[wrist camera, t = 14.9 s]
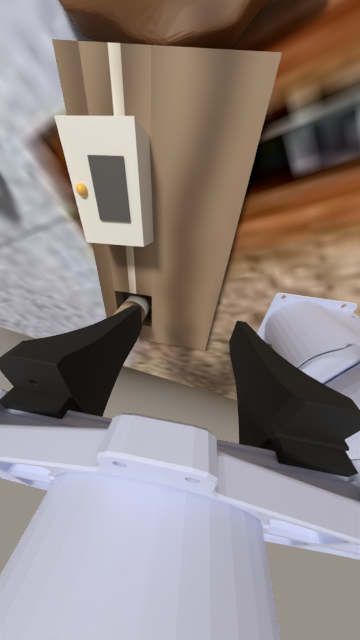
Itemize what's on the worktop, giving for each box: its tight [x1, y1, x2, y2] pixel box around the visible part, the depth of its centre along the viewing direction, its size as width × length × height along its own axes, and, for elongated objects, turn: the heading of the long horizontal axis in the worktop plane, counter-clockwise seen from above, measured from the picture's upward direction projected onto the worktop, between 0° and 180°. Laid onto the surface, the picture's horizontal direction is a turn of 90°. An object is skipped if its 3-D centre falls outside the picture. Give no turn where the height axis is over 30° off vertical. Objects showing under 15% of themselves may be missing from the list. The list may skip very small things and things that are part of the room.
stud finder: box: [54, 115, 154, 247], centre depth 13 cm, size 5×7×3 cm
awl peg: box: [112, 293, 152, 322], centre depth 20 cm, size 3×3×6 cm
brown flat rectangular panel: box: [52, 39, 282, 350], centre depth 17 cm, size 14×24×2 cm, turn 174°
